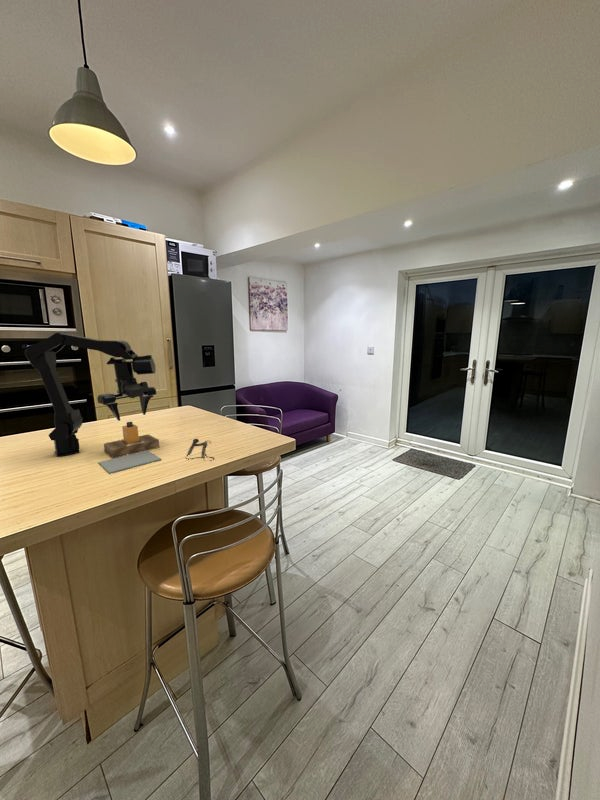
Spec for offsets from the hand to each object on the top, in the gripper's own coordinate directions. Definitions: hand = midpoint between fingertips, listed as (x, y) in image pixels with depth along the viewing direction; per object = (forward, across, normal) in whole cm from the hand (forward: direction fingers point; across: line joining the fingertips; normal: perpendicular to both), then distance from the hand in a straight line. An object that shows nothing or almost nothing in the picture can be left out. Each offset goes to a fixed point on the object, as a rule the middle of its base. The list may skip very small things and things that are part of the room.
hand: (132, 417), depth 119 cm
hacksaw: (+14, +14, -21) cm, 29 cm away
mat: (+12, -8, -12) cm, 19 cm away
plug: (+12, -2, +1) cm, 12 cm away
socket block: (+12, -2, +1) cm, 12 cm away
